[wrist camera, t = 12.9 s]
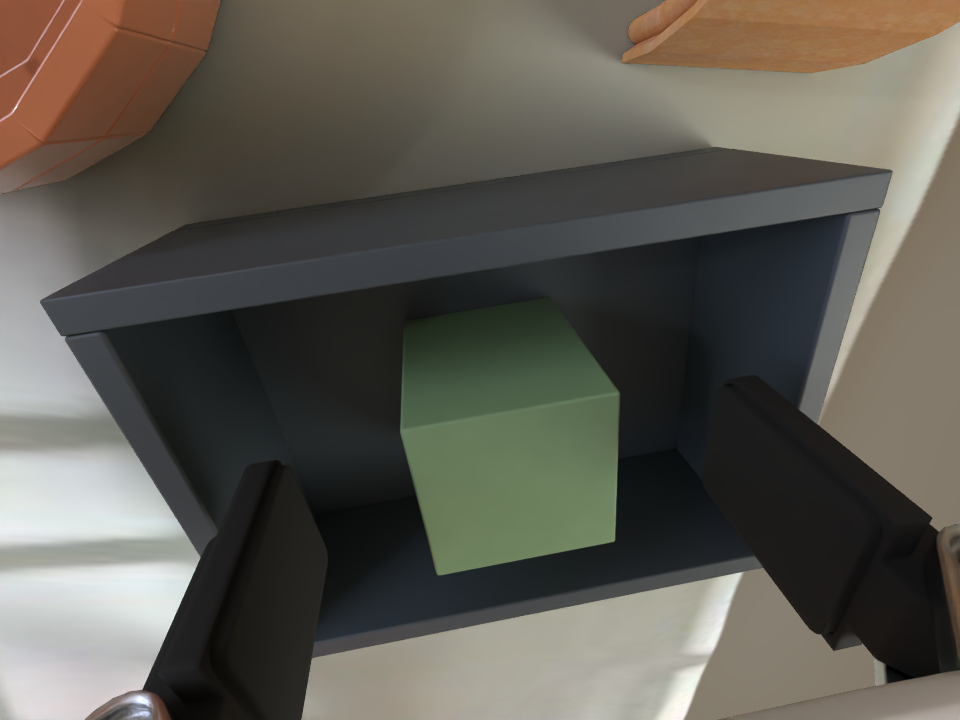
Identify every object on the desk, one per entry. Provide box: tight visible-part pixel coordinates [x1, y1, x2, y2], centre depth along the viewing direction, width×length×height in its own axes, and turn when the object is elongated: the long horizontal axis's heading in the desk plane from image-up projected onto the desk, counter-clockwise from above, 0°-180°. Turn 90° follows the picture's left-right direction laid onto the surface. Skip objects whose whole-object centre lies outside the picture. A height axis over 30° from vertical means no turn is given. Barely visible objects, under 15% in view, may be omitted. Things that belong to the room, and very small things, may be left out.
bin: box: [40, 147, 893, 658], centre depth 14 cm, size 11×15×6 cm
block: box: [400, 297, 620, 575], centre depth 13 cm, size 5×5×6 cm
